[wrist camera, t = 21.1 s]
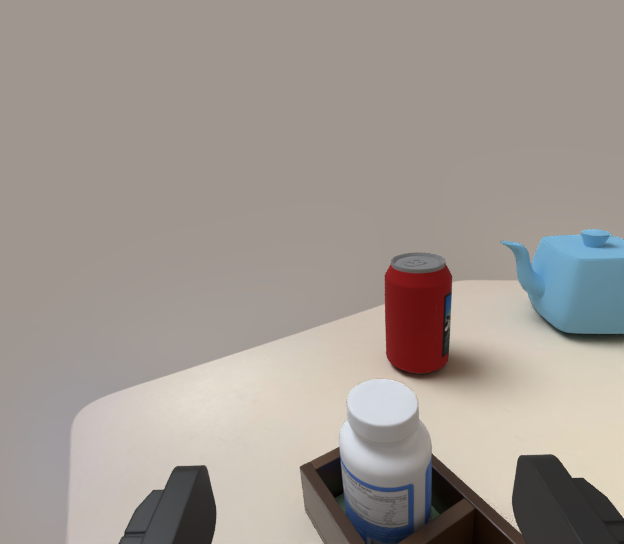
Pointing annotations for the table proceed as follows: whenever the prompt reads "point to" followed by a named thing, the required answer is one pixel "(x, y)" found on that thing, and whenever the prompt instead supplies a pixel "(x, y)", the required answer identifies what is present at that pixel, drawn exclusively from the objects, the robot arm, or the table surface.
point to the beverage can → (418, 312)
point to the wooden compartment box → (428, 539)
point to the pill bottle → (385, 462)
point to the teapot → (576, 281)
